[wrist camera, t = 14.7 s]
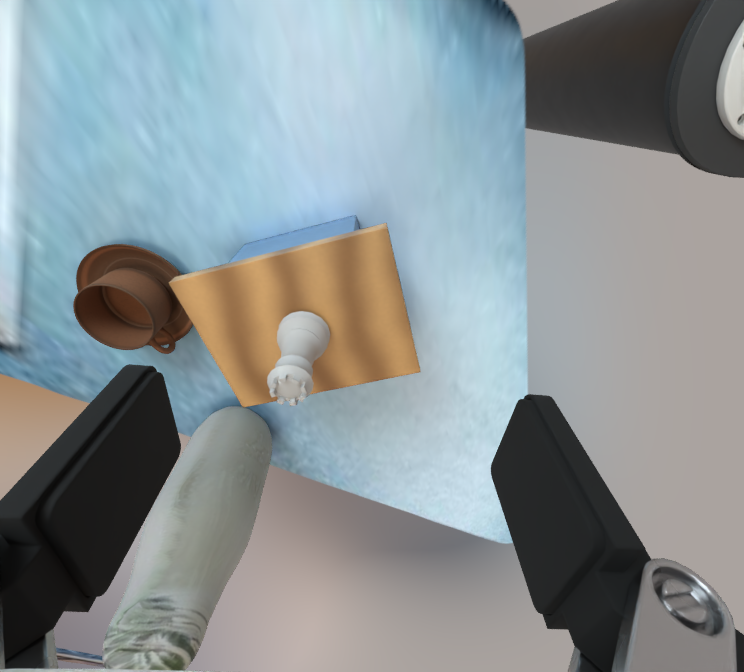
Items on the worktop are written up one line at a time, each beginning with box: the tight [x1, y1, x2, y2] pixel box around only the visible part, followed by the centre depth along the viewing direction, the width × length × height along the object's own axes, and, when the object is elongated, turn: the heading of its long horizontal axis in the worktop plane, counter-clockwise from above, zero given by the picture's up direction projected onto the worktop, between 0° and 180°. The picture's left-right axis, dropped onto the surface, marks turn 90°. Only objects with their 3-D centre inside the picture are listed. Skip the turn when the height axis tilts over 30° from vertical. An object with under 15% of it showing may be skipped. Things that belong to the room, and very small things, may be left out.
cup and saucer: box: [73, 244, 193, 354], centre depth 39 cm, size 12×12×6 cm
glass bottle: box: [103, 406, 272, 671], centre depth 40 cm, size 10×10×28 cm
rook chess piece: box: [267, 311, 330, 406], centre depth 29 cm, size 4×4×8 cm
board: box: [169, 223, 420, 407], centre depth 33 cm, size 18×14×1 cm
